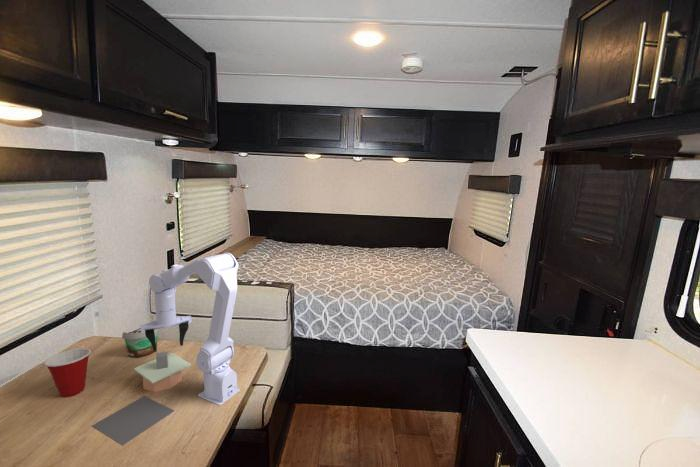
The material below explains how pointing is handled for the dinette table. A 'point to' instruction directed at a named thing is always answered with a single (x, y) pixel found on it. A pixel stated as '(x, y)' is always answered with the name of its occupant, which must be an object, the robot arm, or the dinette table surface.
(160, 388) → the bowl
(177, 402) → the dinette table surface
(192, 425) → the dinette table surface
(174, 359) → the sheet
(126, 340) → the food container
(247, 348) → the dinette table surface
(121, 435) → the mat
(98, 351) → the dinette table surface
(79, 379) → the plastic cup
